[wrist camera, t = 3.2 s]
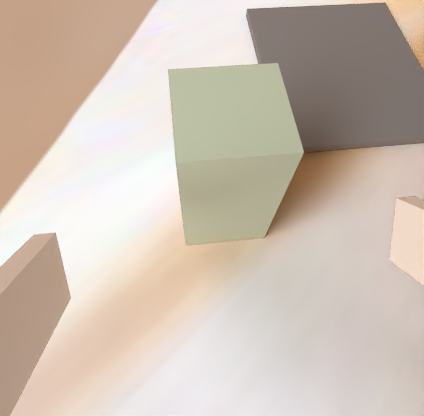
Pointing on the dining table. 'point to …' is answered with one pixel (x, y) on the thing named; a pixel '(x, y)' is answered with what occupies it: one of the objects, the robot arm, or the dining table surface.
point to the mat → (343, 74)
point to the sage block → (232, 149)
